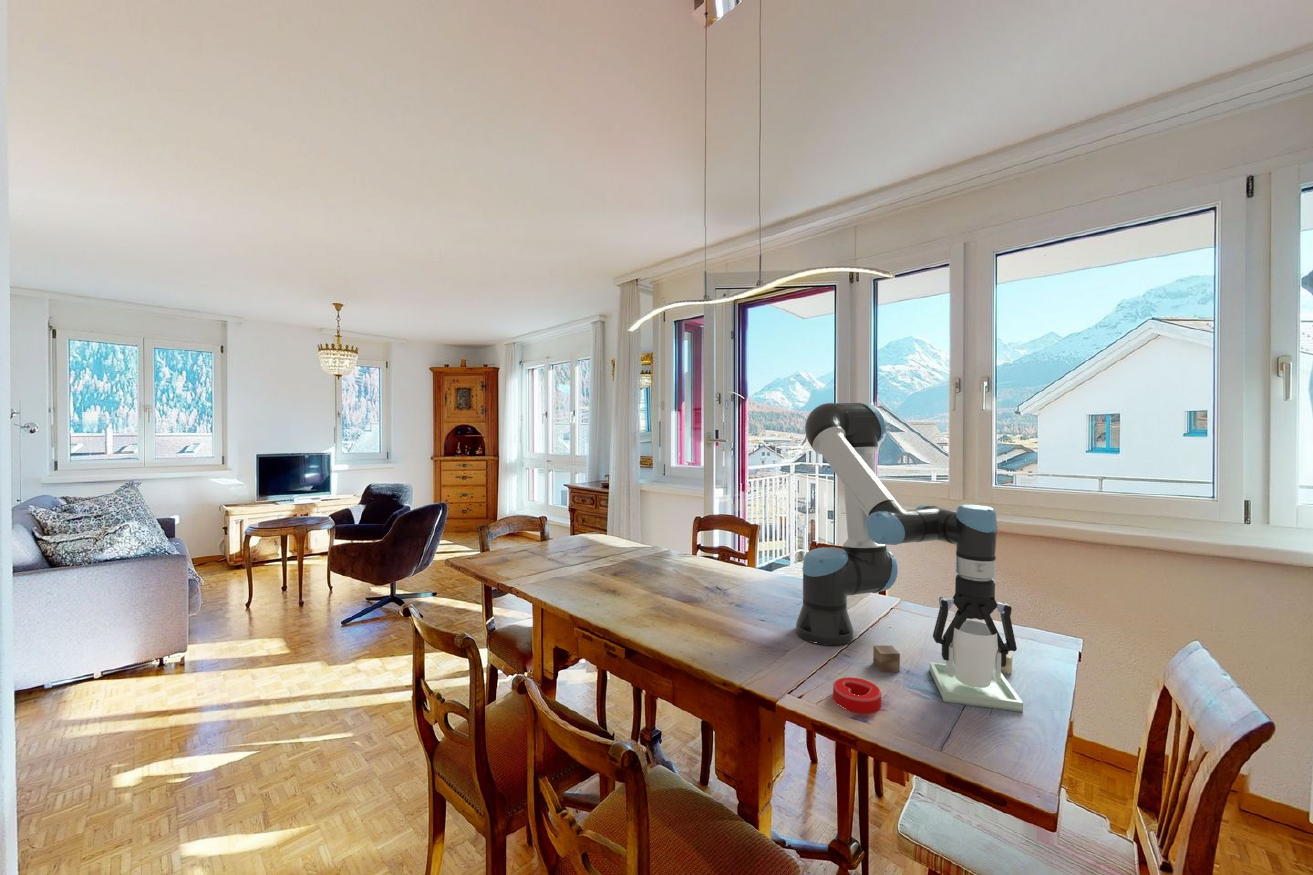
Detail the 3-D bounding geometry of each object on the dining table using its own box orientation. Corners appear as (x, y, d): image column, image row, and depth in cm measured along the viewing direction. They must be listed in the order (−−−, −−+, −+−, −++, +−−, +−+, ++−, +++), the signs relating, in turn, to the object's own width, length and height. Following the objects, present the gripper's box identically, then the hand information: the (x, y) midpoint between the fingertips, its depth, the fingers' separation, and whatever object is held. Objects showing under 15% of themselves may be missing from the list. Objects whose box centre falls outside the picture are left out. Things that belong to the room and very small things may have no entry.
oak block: (986, 669, 128) (986, 652, 128) (987, 662, 131) (988, 646, 131) (1011, 675, 125) (1011, 658, 125) (1012, 668, 128) (1012, 652, 128)
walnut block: (880, 672, 127) (880, 653, 126) (873, 663, 131) (873, 645, 131) (899, 672, 127) (899, 653, 126) (891, 663, 131) (892, 645, 131)
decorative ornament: (891, 707, 112) (891, 692, 112) (858, 719, 107) (858, 703, 107) (855, 686, 120) (855, 672, 120) (823, 696, 116) (823, 682, 116)
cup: (1004, 693, 113) (1005, 637, 112) (957, 688, 115) (958, 634, 114) (986, 672, 122) (988, 621, 121) (943, 669, 124) (944, 618, 123)
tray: (943, 701, 113) (943, 692, 113) (929, 670, 127) (929, 661, 127) (1022, 712, 109) (1023, 702, 109) (999, 678, 123) (999, 669, 123)
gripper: (925, 577, 117) (923, 678, 118) (1038, 585, 111) (1035, 692, 112) (918, 567, 124) (916, 663, 125) (1024, 575, 118) (1021, 675, 119)
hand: (972, 676), depth 118 cm, fingers closed on cup, 9 cm apart
